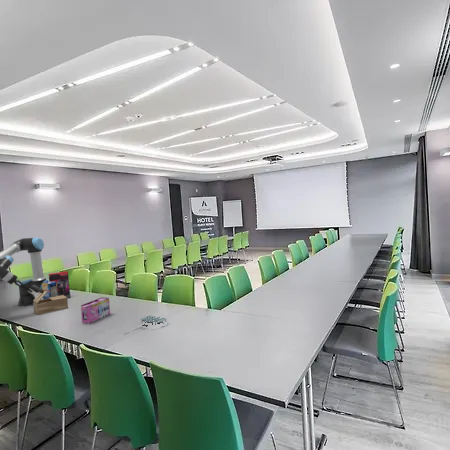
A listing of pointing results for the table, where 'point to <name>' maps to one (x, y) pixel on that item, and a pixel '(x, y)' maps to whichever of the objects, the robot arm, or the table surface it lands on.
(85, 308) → the gum box
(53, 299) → the carton
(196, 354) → the table surface
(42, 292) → the flap
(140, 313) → the table surface
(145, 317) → the grey bumpy mound
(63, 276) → the graphics card box
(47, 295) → the beverage box
